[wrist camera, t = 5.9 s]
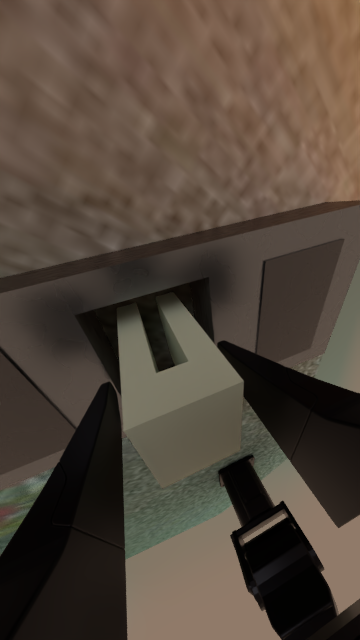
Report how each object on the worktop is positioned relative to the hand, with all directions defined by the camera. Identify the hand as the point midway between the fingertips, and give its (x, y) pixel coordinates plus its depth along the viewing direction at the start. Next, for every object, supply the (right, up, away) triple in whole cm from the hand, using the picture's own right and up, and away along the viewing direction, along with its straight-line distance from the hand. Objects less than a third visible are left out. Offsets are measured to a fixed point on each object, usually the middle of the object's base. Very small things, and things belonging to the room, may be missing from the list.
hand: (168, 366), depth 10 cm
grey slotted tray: (-1, +2, +3) cm, 4 cm away
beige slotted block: (-1, +2, +3) cm, 4 cm away
